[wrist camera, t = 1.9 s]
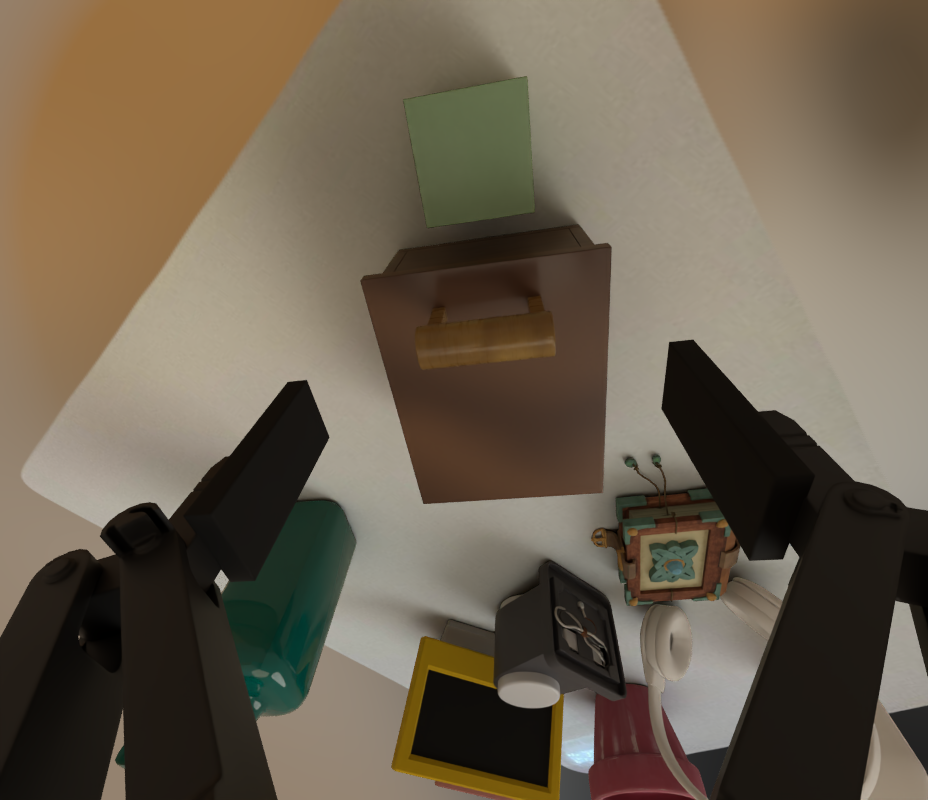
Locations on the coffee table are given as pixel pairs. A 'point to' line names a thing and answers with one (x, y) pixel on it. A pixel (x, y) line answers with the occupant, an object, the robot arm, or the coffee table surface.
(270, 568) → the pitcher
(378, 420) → the coffee table surface
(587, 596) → the light fixture
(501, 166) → the block
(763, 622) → the headphones
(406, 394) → the bin lid
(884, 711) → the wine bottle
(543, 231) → the bin
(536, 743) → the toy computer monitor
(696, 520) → the decorative book
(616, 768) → the flower pot
